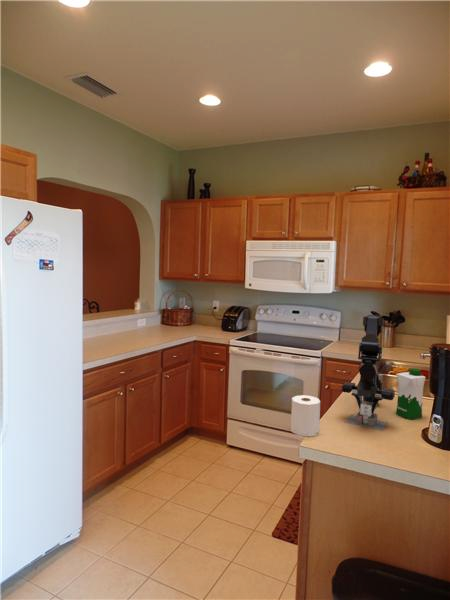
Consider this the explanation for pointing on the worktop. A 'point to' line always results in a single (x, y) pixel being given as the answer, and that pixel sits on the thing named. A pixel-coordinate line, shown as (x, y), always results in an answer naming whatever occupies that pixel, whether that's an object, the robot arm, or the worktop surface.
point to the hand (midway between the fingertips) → (366, 412)
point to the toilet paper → (305, 415)
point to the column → (366, 411)
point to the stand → (371, 422)
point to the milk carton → (410, 394)
